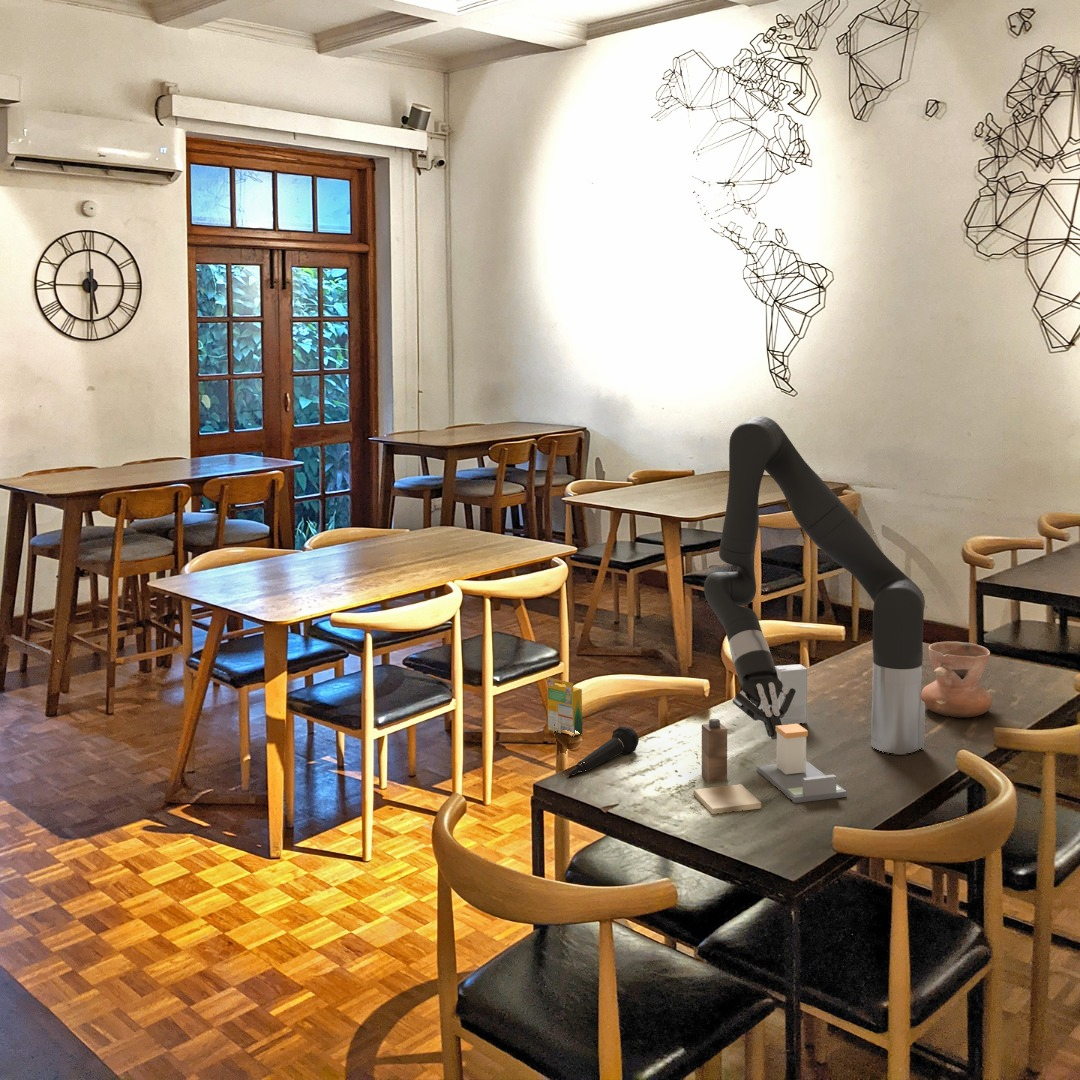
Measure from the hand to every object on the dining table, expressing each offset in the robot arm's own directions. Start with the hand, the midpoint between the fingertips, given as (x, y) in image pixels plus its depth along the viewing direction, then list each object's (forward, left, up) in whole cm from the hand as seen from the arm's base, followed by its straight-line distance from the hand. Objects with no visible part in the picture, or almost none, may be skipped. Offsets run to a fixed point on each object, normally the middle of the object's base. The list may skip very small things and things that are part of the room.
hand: (777, 737), depth 225 cm
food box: (+34, -30, -6) cm, 46 cm away
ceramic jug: (-50, -18, -6) cm, 54 cm away
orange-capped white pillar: (0, +6, -4) cm, 7 cm away
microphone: (+32, -12, -6) cm, 34 cm away
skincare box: (-13, -22, -6) cm, 26 cm away
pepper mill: (+14, +3, -5) cm, 15 cm away
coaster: (+16, +14, -5) cm, 22 cm away
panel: (0, +10, -5) cm, 11 cm away
